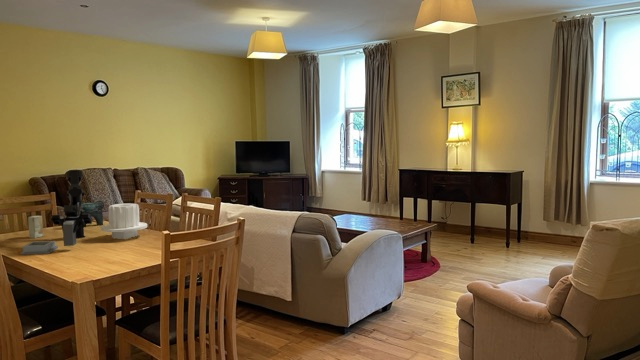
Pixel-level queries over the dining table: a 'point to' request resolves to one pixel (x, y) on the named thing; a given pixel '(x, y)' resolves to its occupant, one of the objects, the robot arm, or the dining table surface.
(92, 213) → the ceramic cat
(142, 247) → the dining table surface
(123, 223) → the ribbed cylinder on disc
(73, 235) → the dark gray plug block
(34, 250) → the socket holder
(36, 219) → the skincare box
